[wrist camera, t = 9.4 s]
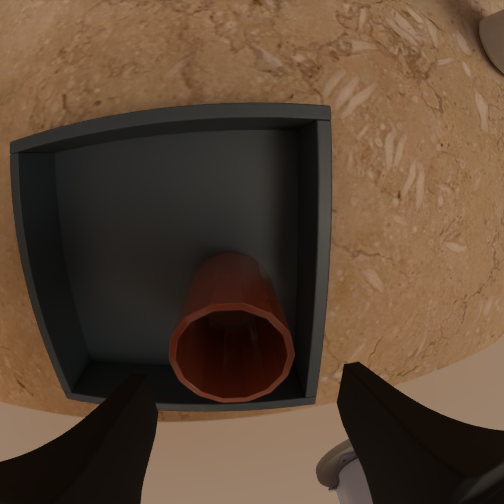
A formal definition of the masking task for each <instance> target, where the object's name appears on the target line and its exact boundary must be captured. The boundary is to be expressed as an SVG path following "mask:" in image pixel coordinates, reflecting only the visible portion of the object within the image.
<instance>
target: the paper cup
mask: <svg viewBox="0 0 504 504" xmlns="http://www.w3.org/2000/svg"><path fill="white" fill-rule="evenodd" d="M294 357H295V351H294V347H293V342H292V338H291V334H290V331H289V328H288V325H287V322H286V319H285V317H284V314H283V311H282V308H281V305H280V302H279V300H278V297H277V294H276V291H275V289H274V286H273V283H272V280H271V277H270V275H269V274H268V272H267V271H266V269H265V268H264V267H263V266H262V264H261V263H260V262H258V261H257V260H256V259H254V258H253V257H251V256H249V255H246V254H243V253H239V252H222V253H218V254H215V255H213V256H211V257H209V258H207V259H206V260H204V261H203V262H202V263H201V264H200V265H199V266H198V267H197V269H196V270H195V272H194V274H193V275H192V277H191V279H190V281H189V284H188V287H187V290H186V293H185V296H184V298H183V301H182V304H181V307H180V310H179V313H178V316H177V319H176V322H175V325H174V328H173V331H172V334H171V337H170V348H169V361H170V363H171V366H172V368H173V370H174V372H175V374H176V376H177V378H178V380H179V381H180V382H182V383H183V384H184V385H185V386H187V387H188V388H189V389H190V390H192V391H193V392H194V393H196V394H197V395H199V396H202V397H205V398H208V399H212V400H215V401H218V402H223V403H227V402H247V401H251V400H253V399H256V398H258V397H261V396H263V395H266V394H268V393H270V392H272V391H273V390H274V389H275V388H276V387H277V386H278V385H279V384H280V383H281V382H282V381H283V380H284V379H285V378H286V377H287V376H288V374H289V371H290V369H291V366H292V363H293V360H294Z"/></svg>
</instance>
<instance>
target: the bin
mask: <svg viewBox="0 0 504 504" xmlns="http://www.w3.org/2000/svg"><path fill="white" fill-rule="evenodd" d="M330 120H331V107H330V106H326V105H312V104H294V103H220V104H202V105H189V106H177V107H168V108H159V109H151V110H144V111H137V112H130V113H124V114H118V115H113V116H107V117H102V118H97V119H92V120H88V121H83V122H79V123H74V124H70V125H66V126H62V127H58V128H55V129H51V130H47V131H44V132H40V133H37V134H34V135H30V136H27V137H24V138H21V139H18V140H15V141H12V142H10V154H11V155H10V172H11V190H12V202H13V212H14V220H15V228H16V235H17V241H18V247H19V252H20V258H21V263H22V267H23V272H24V276H25V281H26V285H27V289H28V293H29V297H30V300H31V304H32V307H33V311H34V314H35V317H36V321H37V324H38V327H39V330H40V333H41V336H42V339H43V342H44V344H45V347H46V350H47V352H48V355H49V358H50V360H51V363H52V365H53V368H54V370H55V372H56V375H57V377H58V379H59V382H60V384H61V386H62V388H63V391H64V392H65V395H66V397H67V398H68V399H71V400H77V401H82V402H89V403H95V404H101V403H102V402H103V401H104V400H105V399H106V398H107V397H108V396H110V395H111V394H112V393H113V392H114V391H115V390H116V389H117V388H118V387H119V386H120V385H121V384H122V383H123V382H124V381H125V380H126V379H127V378H128V377H129V376H130V375H131V374H132V373H133V374H147V376H148V380H149V383H150V387H151V390H152V394H153V397H154V400H155V404H156V407H157V410H164V411H195V412H215V411H246V410H262V409H274V408H285V407H294V406H303V405H310V404H315V401H316V394H317V387H318V380H319V372H320V364H321V356H322V347H323V338H324V329H325V318H326V307H327V295H328V281H329V265H330V245H331V218H332V137H331V121H330ZM222 252H239V253H243V254H246V255H249V256H251V257H253V258H254V259H256V260H257V261H258V262H260V263H261V264H262V266H263V267H264V268H265V269H266V271H267V272H268V274H269V275H270V277H271V280H272V283H273V286H274V289H275V291H276V294H277V297H278V300H279V302H280V305H281V308H282V311H283V314H284V317H285V319H286V322H287V325H288V328H289V331H290V334H291V338H292V342H293V347H294V351H295V357H294V360H293V363H292V366H291V369H290V371H289V374H288V376H287V377H286V378H285V379H284V380H283V381H282V382H281V383H280V384H279V385H278V386H277V387H276V388H275V389H274V390H273V391H272V392H270V393H268V394H266V395H263V396H261V397H258V398H256V399H253V400H251V401H247V402H227V403H223V402H218V401H215V400H212V399H208V398H205V397H202V396H199V395H197V394H196V393H194V392H193V391H192V390H190V389H189V388H188V387H187V386H185V385H184V384H183V383H182V382H180V381H179V380H178V378H177V376H176V374H175V372H174V370H173V368H172V366H171V363H170V361H169V348H170V337H171V334H172V331H173V328H174V325H175V322H176V319H177V316H178V313H179V310H180V307H181V304H182V301H183V298H184V296H185V293H186V290H187V287H188V284H189V281H190V279H191V277H192V275H193V274H194V272H195V270H196V269H197V267H198V266H199V265H200V264H201V263H202V262H203V261H204V260H206V259H207V258H209V257H211V256H213V255H215V254H218V253H222Z"/></svg>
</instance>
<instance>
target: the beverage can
mask: <svg viewBox="0 0 504 504" xmlns="http://www.w3.org/2000/svg"><path fill="white" fill-rule="evenodd" d="M479 36H480V40H481V43H482V46H483V48H484V50H485V52H486V54H487V55H488V57H489V58H490V60H491V61H492V63H493V64H494V65H495V66H496V67H497V68H498V69H499V70H500V71H501V72H502V73H503V74H504V10H501V11H499V12H497V13H494V14H492V15H489V16H487V17H485V18H483V19H481V21H480V24H479Z"/></svg>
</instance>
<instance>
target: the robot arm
mask: <svg viewBox="0 0 504 504" xmlns="http://www.w3.org/2000/svg"><path fill="white" fill-rule="evenodd" d="M337 405H338V409H339V413H340V416H341V420H342V423H343V426H344V428H345V430H346V433H347V435H348V437H349V439H350V442H351V444H352V446H353V448H354V450H355V452H351V453H346V454H343V455H342V456H341V457H340V459H339V462H338V465H337V468H336V470H335V473H334V476H333V478H332V481H331V484H330V486H329V489H328V490H329V492H333V491H336V492H337V495H338V498H339V501H340V504H504V431H501V430H493V429H488V428H483V427H478V426H474V425H470V424H466V423H463V422H460V421H457V420H455V419H452V418H449V417H447V416H444V415H441V414H440V413H438V412H435V411H433V410H431V409H429V408H427V407H425V406H423V405H421V404H420V403H418V402H416V401H415V400H413V399H411V398H409V397H408V396H406V395H405V394H403V393H402V392H400V391H399V390H397V389H396V388H394V387H393V386H391V385H390V384H389V383H387V382H386V381H384V380H383V379H382V378H380V377H379V376H378V375H376V374H375V373H374V372H372V371H371V370H370V369H368V368H367V367H366V366H364V365H363V364H361V363H360V362H356V363H349V364H344V368H343V373H342V379H341V384H340V389H339V394H338V399H337ZM157 418H158V410H157V407H156V404H155V400H154V397H153V394H152V390H151V387H150V383H149V380H148V376H147V374H133V373H132V374H131V375H130V376H129V377H128V378H127V379H126V380H125V381H124V382H123V383H122V384H121V385H120V386H119V387H118V388H117V389H116V390H115V391H114V392H113V393H112V394H111V395H110V396H108V397H107V398H106V399H105V400H104V401H103V402H102V403H101V404H100V405H99V406H98V407H97V408H96V409H95V410H93V411H92V412H91V413H90V414H89V415H88V416H86V417H85V418H84V419H83V420H82V421H80V422H79V423H78V424H77V425H75V426H74V427H73V428H71V429H70V430H68V431H67V432H65V433H64V434H63V435H61V436H59V437H58V438H56V439H54V440H52V441H50V442H49V443H47V444H45V445H43V446H41V447H39V448H37V449H35V450H33V451H31V452H28V453H26V454H23V455H21V456H18V457H15V458H12V459H9V460H5V461H2V462H0V504H140V503H141V493H142V492H141V491H142V486H143V481H144V477H145V473H146V468H147V465H148V461H149V457H150V453H151V450H152V446H153V442H154V438H155V434H156V427H157Z"/></svg>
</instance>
